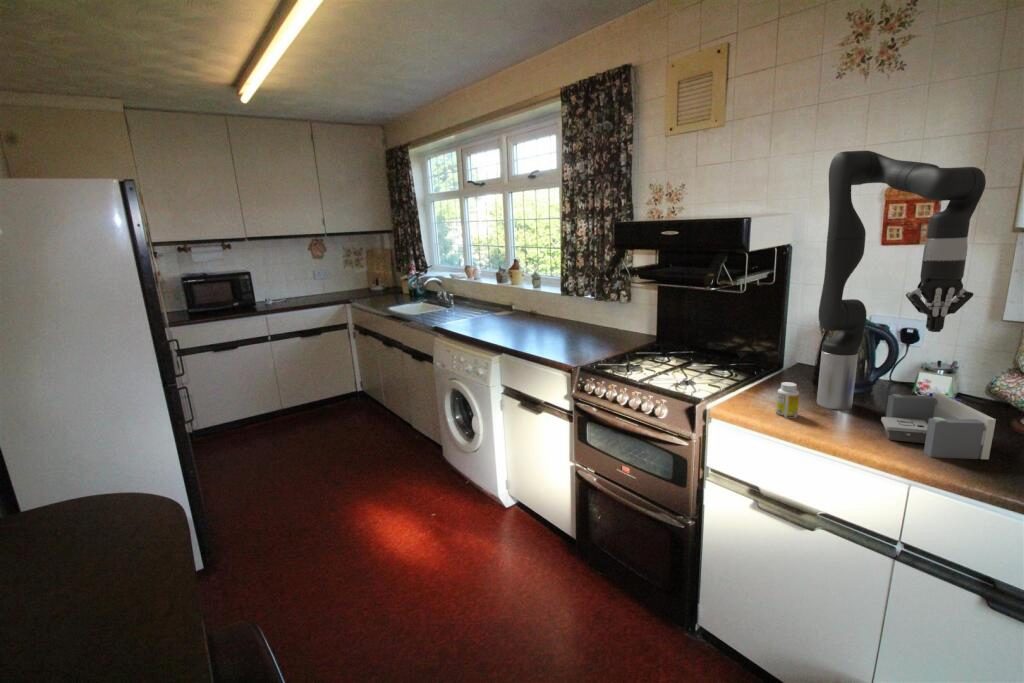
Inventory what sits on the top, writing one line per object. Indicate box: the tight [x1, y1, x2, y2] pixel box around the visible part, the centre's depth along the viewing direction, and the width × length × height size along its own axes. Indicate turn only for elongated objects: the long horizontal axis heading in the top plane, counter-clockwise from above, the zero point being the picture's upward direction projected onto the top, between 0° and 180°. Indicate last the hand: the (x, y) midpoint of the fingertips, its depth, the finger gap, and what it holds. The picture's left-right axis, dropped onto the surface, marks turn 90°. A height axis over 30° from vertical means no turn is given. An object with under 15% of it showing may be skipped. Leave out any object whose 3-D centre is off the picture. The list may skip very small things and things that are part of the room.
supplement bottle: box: [775, 381, 800, 419], centre depth 142 cm, size 6×6×10 cm
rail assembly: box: [885, 391, 997, 460], centre depth 122 cm, size 20×12×10 cm, turn 169°
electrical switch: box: [880, 416, 928, 444], centre depth 125 cm, size 9×5×9 cm
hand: (933, 331), depth 114 cm, fingers closed
